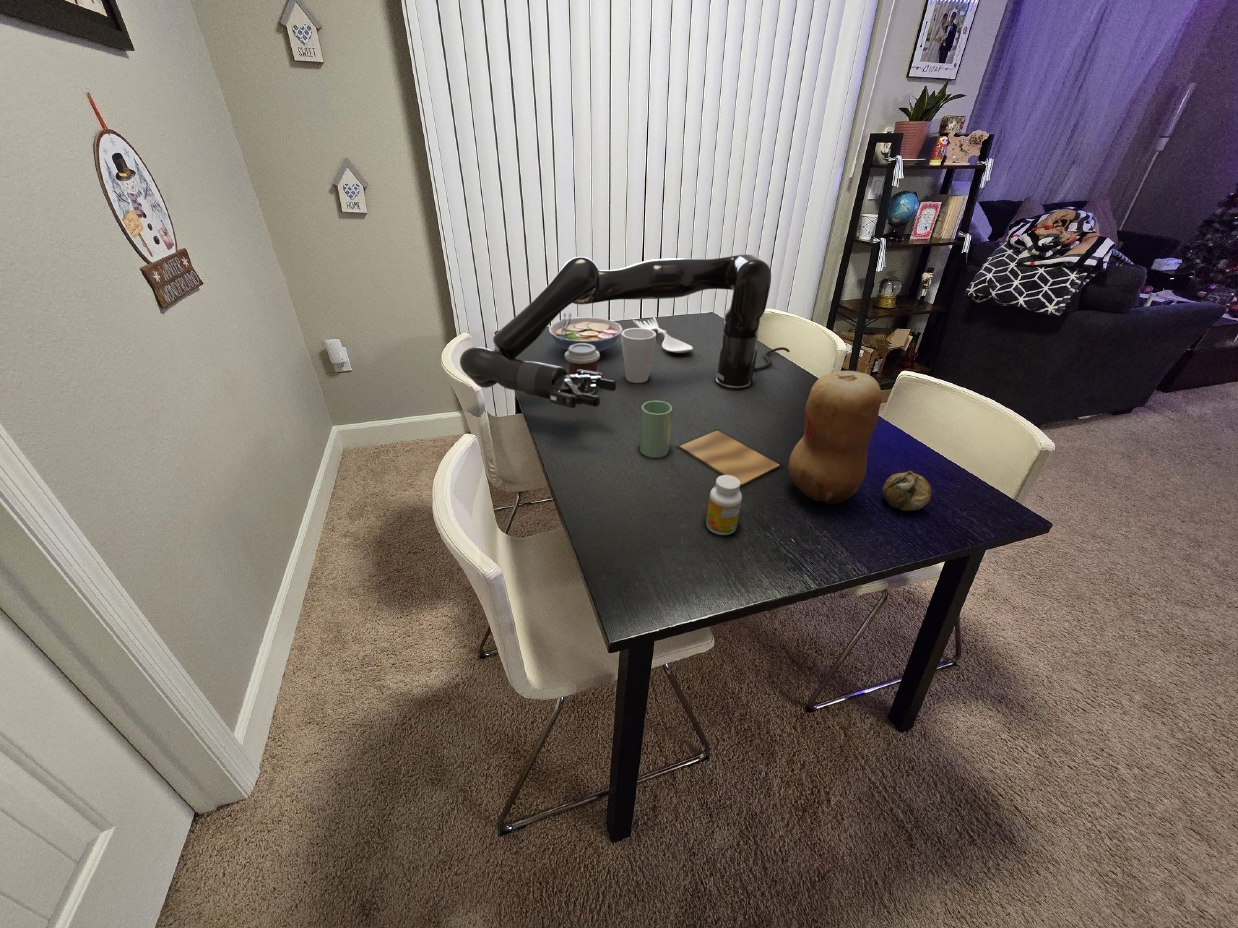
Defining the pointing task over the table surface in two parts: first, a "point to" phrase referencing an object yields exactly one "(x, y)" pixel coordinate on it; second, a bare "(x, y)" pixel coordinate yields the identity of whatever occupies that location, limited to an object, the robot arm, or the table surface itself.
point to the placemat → (729, 457)
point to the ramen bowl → (585, 332)
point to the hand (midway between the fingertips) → (607, 393)
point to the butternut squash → (836, 436)
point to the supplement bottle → (724, 505)
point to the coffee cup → (582, 360)
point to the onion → (907, 491)
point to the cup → (655, 428)
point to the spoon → (669, 342)
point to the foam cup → (637, 353)
